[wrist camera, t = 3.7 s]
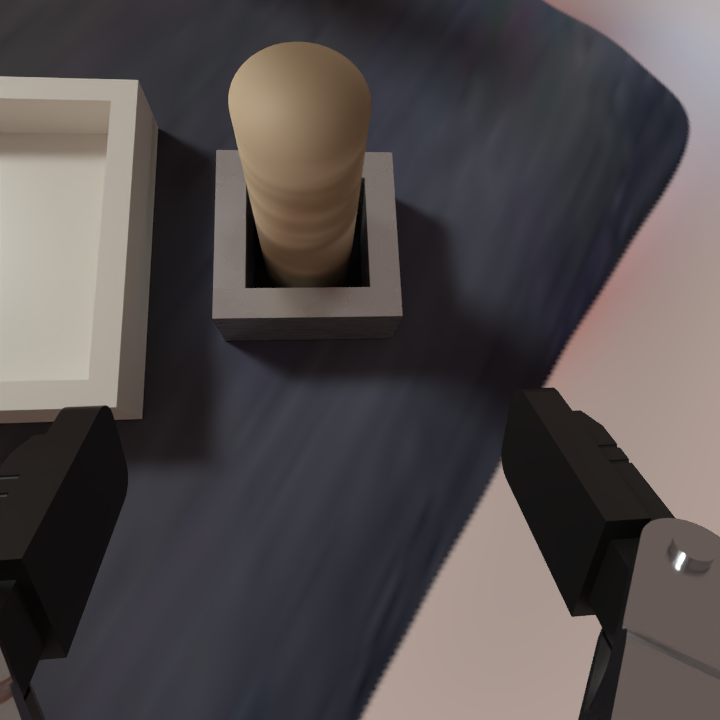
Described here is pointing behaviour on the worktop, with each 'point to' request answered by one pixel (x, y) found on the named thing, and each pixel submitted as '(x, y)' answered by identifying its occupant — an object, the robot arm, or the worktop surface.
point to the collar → (305, 305)
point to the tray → (74, 245)
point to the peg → (302, 158)
